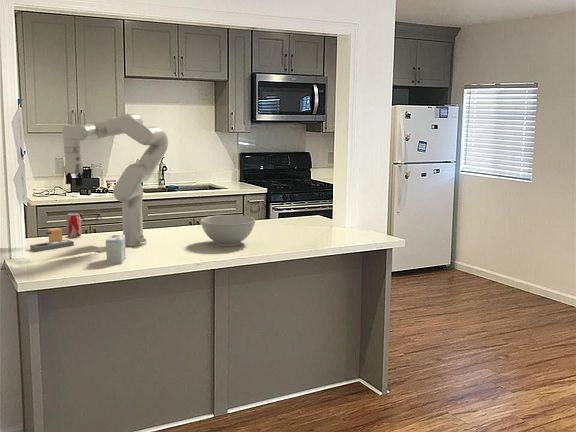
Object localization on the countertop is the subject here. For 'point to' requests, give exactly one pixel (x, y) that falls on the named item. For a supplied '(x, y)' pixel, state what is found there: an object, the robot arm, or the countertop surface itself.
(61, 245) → the power strip
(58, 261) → the countertop surface
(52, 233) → the charger
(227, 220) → the decorative bowl
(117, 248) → the light grey box
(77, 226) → the soda can
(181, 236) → the countertop surface
